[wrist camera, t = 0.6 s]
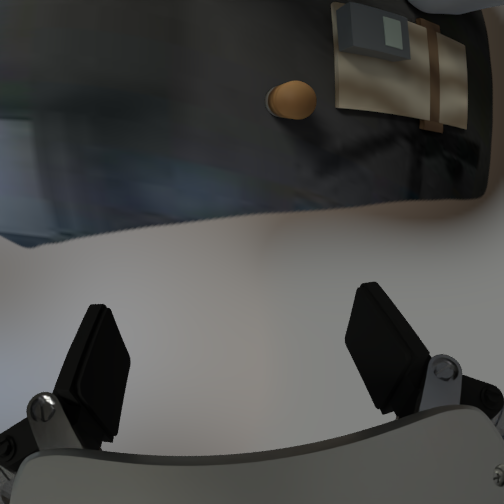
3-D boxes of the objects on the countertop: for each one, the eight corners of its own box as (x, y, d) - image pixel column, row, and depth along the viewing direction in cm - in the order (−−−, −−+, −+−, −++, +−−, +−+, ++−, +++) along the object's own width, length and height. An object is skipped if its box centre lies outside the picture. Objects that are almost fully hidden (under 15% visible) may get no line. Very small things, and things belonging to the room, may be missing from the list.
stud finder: (335, 10, 24) (350, 0, 20) (390, 23, 25) (407, 17, 21) (338, 51, 27) (354, 45, 23) (393, 61, 28) (411, 59, 24)
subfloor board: (329, -5, 24) (333, -8, 23) (459, 38, 26) (464, 37, 25) (335, 118, 32) (339, 119, 31) (461, 136, 35) (466, 138, 34)
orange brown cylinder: (264, 85, 30) (276, 80, 24) (296, 86, 30) (316, 81, 24) (265, 117, 32) (277, 119, 26) (297, 117, 32) (316, 119, 26)
